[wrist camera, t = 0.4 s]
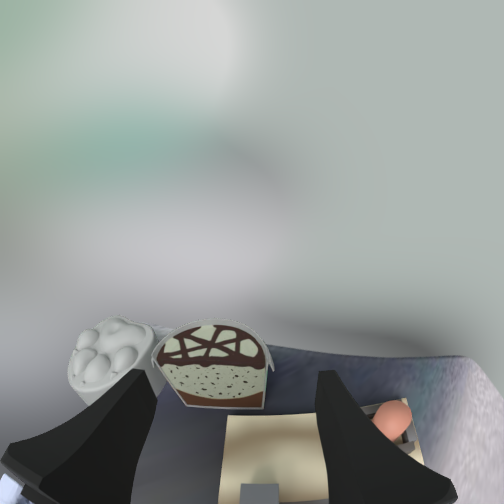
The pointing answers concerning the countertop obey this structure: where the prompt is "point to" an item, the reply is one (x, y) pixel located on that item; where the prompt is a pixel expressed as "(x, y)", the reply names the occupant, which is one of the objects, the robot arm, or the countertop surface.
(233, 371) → the food container
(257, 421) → the control board
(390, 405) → the push button
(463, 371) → the countertop surface
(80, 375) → the lumpy-topped squat cylinder
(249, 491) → the slider knob
